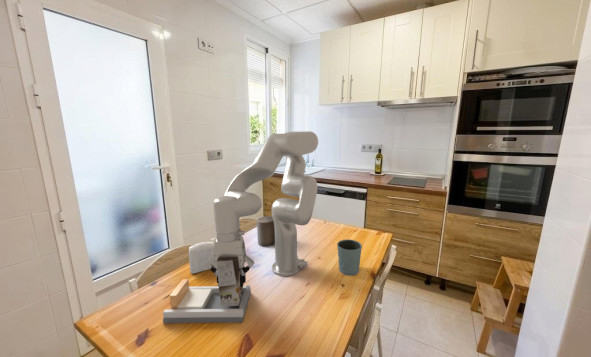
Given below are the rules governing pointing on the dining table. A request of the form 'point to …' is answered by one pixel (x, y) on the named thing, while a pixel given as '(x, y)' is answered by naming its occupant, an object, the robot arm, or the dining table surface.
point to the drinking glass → (349, 256)
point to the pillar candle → (265, 231)
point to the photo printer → (200, 256)
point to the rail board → (210, 310)
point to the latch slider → (189, 297)
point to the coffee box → (229, 281)
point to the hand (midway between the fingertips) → (231, 284)
